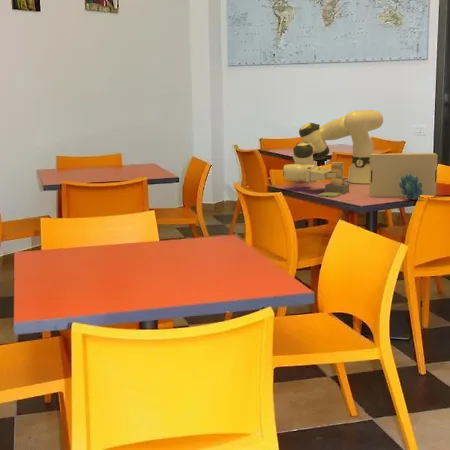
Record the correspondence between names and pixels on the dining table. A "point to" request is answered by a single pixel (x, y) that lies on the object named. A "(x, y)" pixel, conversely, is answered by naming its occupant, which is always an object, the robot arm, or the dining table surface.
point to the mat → (329, 194)
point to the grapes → (411, 186)
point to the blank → (339, 170)
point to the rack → (337, 188)
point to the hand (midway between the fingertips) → (339, 174)
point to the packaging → (401, 173)
